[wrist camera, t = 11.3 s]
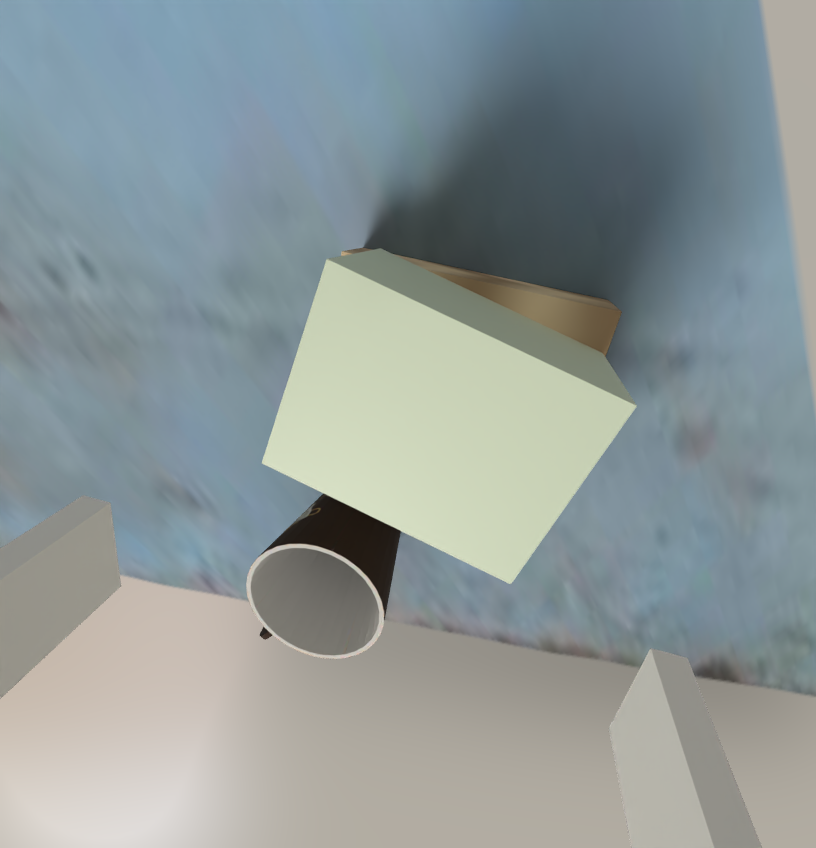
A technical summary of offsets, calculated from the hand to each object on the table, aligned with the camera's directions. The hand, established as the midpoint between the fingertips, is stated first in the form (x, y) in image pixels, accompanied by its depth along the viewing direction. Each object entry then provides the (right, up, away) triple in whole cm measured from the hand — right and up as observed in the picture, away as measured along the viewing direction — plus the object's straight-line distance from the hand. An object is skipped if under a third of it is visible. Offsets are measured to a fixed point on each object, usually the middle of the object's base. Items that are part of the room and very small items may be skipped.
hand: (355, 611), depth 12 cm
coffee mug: (-4, -3, +26) cm, 27 cm away
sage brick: (+4, +7, +16) cm, 18 cm away
